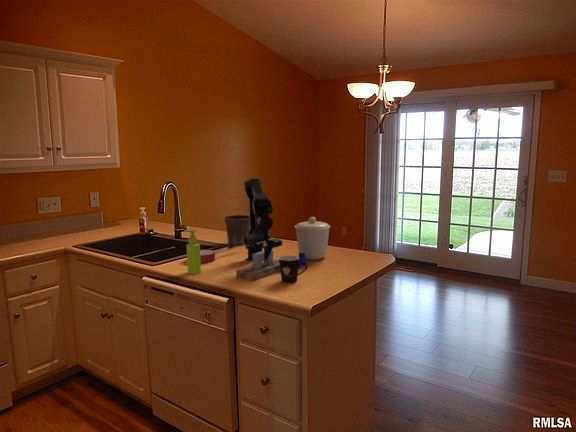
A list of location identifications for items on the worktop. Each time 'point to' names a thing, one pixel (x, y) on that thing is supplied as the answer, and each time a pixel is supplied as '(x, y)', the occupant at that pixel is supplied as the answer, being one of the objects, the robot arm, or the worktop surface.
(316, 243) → the canister
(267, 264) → the grey channel block
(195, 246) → the soap dispenser
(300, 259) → the cable clip
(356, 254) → the worktop surface
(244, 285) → the worktop surface
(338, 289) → the worktop surface
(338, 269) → the worktop surface
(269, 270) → the rail
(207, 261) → the frying pan
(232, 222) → the plant pot
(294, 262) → the coffee mug
